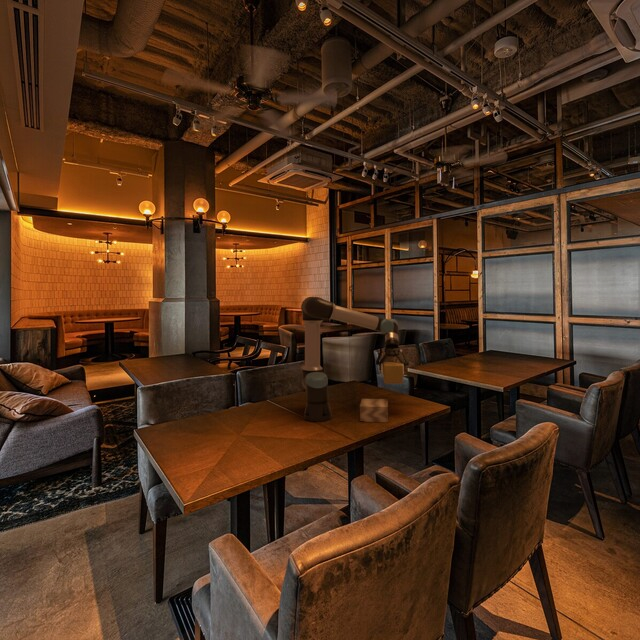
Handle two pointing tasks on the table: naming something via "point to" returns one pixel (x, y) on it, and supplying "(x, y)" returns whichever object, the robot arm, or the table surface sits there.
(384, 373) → the cheese
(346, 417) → the table surface
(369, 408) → the chevron patterned block
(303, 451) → the table surface
